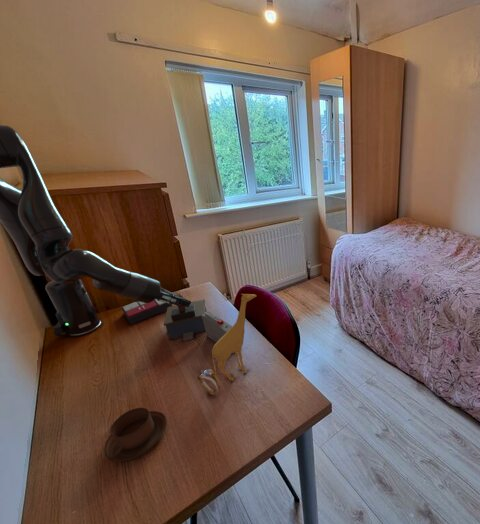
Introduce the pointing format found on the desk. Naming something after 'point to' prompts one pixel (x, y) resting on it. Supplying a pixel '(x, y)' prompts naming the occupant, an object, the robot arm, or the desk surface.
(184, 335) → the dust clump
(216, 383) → the ring
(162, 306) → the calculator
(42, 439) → the desk surface
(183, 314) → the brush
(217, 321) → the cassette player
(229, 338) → the giraffe
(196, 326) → the grey storage box
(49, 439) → the desk surface
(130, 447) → the brown fedora hat
